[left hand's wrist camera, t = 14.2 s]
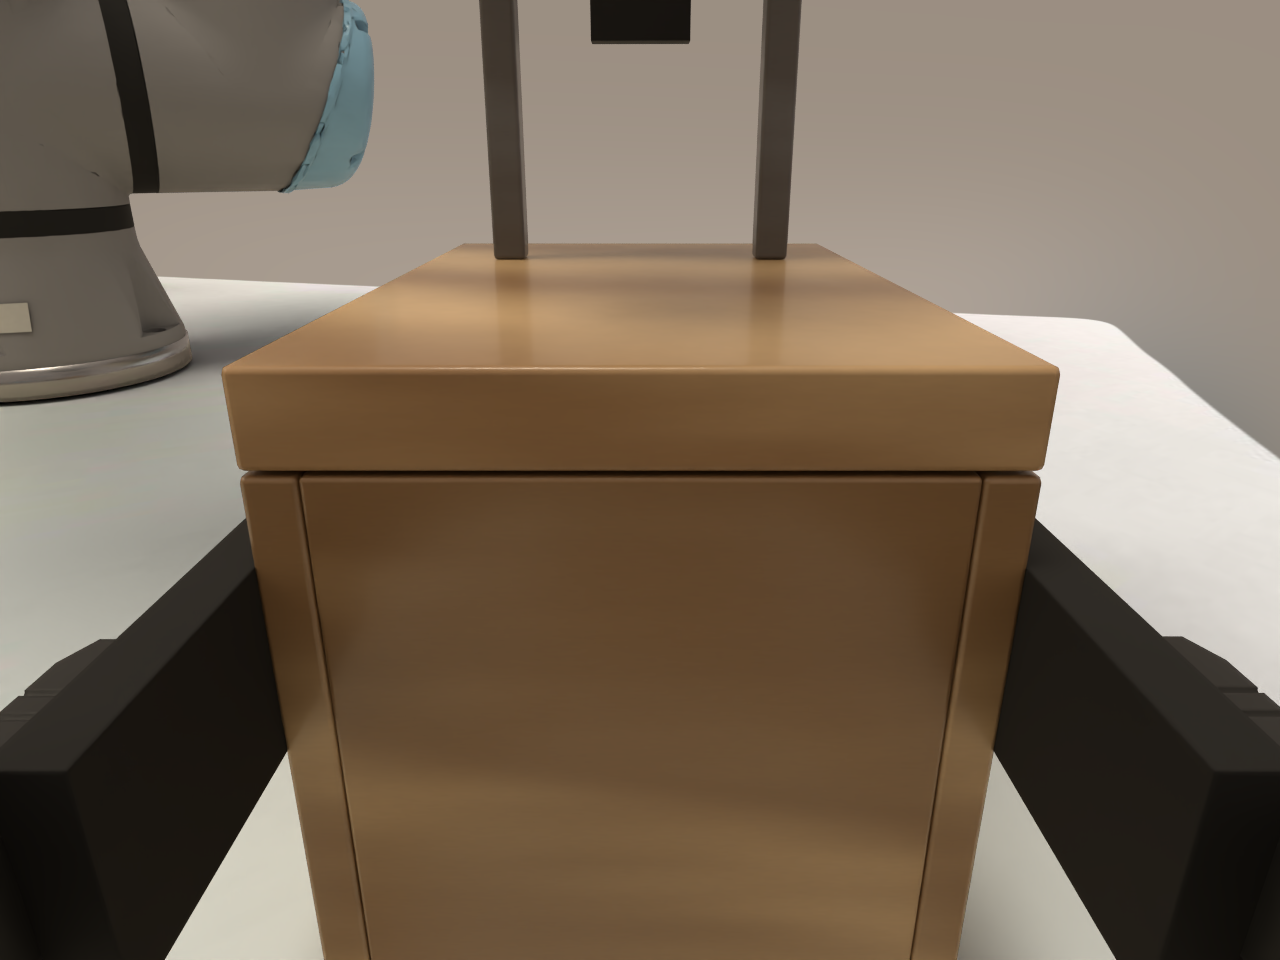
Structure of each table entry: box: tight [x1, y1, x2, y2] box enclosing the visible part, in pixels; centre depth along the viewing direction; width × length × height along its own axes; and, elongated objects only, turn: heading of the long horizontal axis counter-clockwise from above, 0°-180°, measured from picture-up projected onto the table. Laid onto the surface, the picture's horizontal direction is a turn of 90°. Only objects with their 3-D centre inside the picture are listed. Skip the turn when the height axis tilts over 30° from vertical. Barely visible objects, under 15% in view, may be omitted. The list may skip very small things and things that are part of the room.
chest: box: [240, 471, 1041, 960], centre depth 18 cm, size 13×9×10 cm
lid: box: [222, 0, 1060, 471], centre depth 15 cm, size 14×9×10 cm
